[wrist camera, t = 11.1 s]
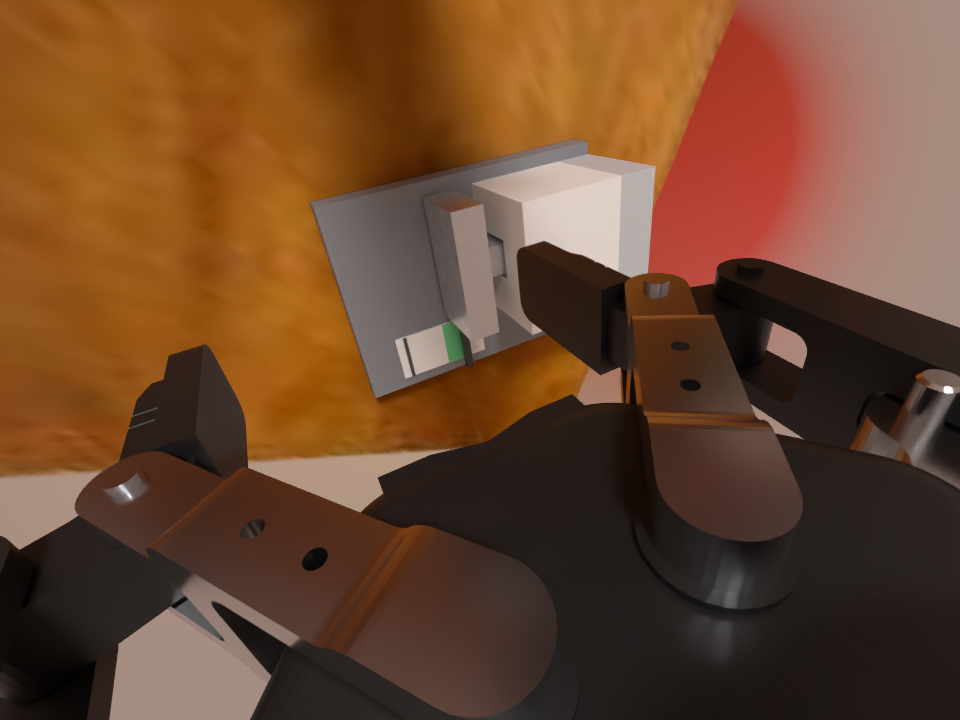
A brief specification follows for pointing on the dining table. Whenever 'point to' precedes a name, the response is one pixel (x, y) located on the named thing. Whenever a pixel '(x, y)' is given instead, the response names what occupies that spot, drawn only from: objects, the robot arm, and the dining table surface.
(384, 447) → the dining table surface
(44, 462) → the dining table surface
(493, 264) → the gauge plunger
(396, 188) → the stand
